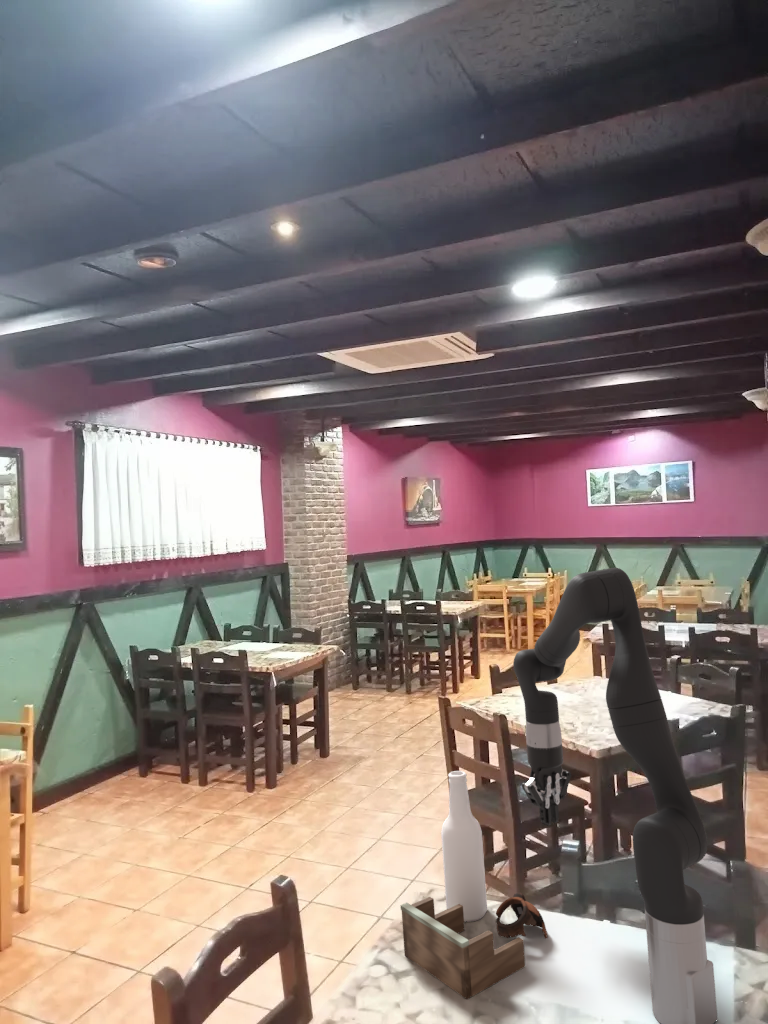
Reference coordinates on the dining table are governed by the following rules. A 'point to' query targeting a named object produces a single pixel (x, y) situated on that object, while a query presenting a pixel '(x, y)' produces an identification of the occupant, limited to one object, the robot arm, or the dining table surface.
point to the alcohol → (463, 853)
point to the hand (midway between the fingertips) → (550, 822)
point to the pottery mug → (519, 917)
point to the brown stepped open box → (456, 949)
